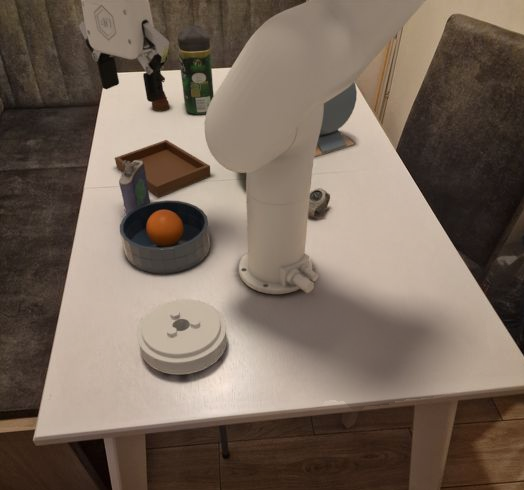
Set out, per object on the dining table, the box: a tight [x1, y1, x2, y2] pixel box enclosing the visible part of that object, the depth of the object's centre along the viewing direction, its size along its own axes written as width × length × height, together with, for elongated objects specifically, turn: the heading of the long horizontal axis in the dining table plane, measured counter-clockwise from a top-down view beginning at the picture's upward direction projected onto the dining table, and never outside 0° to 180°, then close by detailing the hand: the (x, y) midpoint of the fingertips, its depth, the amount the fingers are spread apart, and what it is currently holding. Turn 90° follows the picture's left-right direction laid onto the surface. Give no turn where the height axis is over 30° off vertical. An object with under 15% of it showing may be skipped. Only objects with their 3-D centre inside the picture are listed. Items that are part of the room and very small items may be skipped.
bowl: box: [119, 199, 211, 275], centre depth 86 cm, size 15×15×5 cm
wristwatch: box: [308, 187, 331, 219], centre depth 94 cm, size 4×6×5 cm, turn 143°
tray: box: [114, 139, 212, 198], centre depth 106 cm, size 17×14×2 cm
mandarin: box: [146, 210, 183, 247], centre depth 85 cm, size 6×6×6 cm
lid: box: [136, 298, 228, 375], centre depth 70 cm, size 13×13×5 cm
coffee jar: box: [177, 25, 215, 115], centre depth 124 cm, size 10×8×19 cm
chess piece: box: [151, 74, 170, 112], centre depth 127 cm, size 5×5×10 cm
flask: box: [118, 160, 151, 216], centre depth 91 cm, size 9×3×11 cm, turn 172°
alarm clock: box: [314, 81, 358, 158], centre depth 110 cm, size 14×10×18 cm
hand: (133, 92), depth 78 cm, fingers open, 9 cm apart
